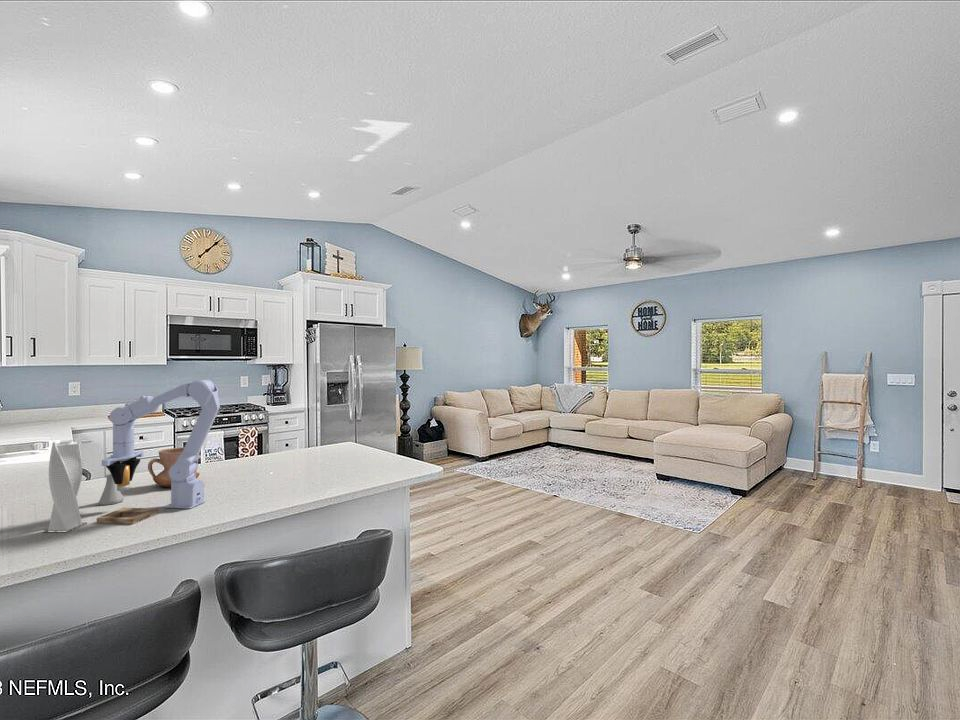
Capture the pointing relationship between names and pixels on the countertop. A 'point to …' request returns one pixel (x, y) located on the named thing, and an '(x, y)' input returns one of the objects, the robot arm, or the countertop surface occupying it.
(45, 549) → the countertop surface
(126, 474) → the orange upright cylinder
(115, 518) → the wooden tray
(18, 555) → the countertop surface
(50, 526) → the skyscraper
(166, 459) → the ceramic jug
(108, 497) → the flask
